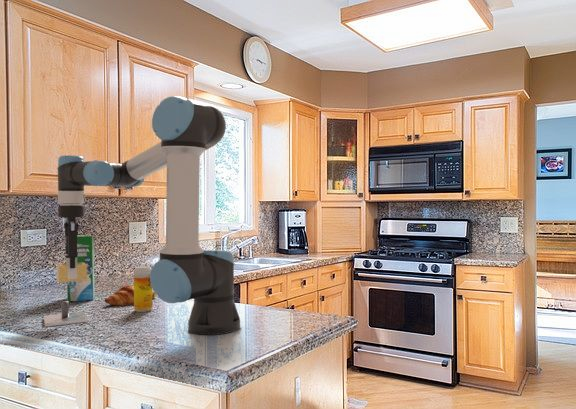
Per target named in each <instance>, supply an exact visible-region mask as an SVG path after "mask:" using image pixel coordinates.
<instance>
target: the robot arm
mask: <svg viewBox="0 0 576 409" xmlns="http://www.w3.org/2000/svg"><path fill="white" fill-rule="evenodd" d="M226 124H227V123H226V120H225V116H224V115H223V113H222V112H221V110H219V109H218V108H217V107H216V106H214V105H212V104H208V103H204V102H201V101H197V100H194V99H191V98H189V97H185V96H183V97H182V96H175V95H174V96H173V95H171V96H168V97H166V98H164V99H162V100H161V101H160V102H159V104H158V105H157V106H156V108H155V109H154V111H153V114H152V118H151V127H152V131H153V132H154V134H155V136H156V137H157V138H158V139H160V142H158V143H157V144H154V145H153V146H151V147H149V148H148V149H146V150H143V151H142V152H140V153H139V154H137V155H135V156H133V157H132V158H129V159H128V160H126V161H124V162H121V163H118V162H107V161H105V160H90V161H85V158H84V157H83V156H82V155H81V156H80V155H72V154H71V155H66V154H65V155H60V156H59V157H58V160H57V162H58V163H57V204H58V206H57V216H58V218H61V219H62V218H63V219H64V218H66V222H64V223H63V229H64V236H65V264H66V263H67V279H77V256H78V253H77V236H79V231H78V230H79V223H78V222H77V221H76V220H77V218H83V217H85V206H84V205H83V204H85V199H84V198H86V197H87V194H85V192H84V191H85V187H87V186H88V187H90V186H91V187H120V188H121V187H125V188H134V187H135V188H136V187H140V186H141V185H142V184H143V182H144V181H145V178H147V177H149V176H151V175H153V174H155V173H157V172H158V171H160V170H161V171H162V170H163V169H165V168H166V192H165V194H166V200H165V201H166V202H165V205H166V206H165V209H166V210H165V212H166V213H165V245H164V246H162V248H161V249H160V250H159V260H158V261H156V262H155V263H154V264H153V266H152V267H151V272H150V282H151V286H152V291H154V292H155V293H156V294H157V295H156V297H158V299H160V300H161V301H163V302H165V303H168V304H177V303H186V302H187V301H190V300H193V305H192V308H191V311H190V315H189V318H188V322H187V328H188V331H189V332H190V333H193V334H195V335H196V334H197V335H209V336H210V335H212V336H213V335H224V334H228V333H232V332H235V331H238V330H239V329H240V328H241V318H240V316H239V312H238V309H237V306H236V303H235V280H234V279H235V276H234V275H235V273H234V272H235V270H234V269H235V268H234V266H235V262H234V254H233V253H232V252H231V251H230V250H221V249H220V250H218V249H217V250H216V249H203V248H202V247H201V246H200V244H199V236H200V235H199V231H200V230H199V227H200V224H199V223H200V218H199V217H200V209H199V208H200V169H201V168H200V164H201V162H200V160H201V159H200V158H201V155H202V154H203V153H204V152H205V151H207V150H209V149H211V148H213V147H214V146H216V145H217V144H218V143H220V141H222V140H223V138H224V136H225V134H226V129H227V128H226V127H227V125H226ZM67 254H68V255H67Z"/></svg>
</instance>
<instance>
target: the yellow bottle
mask: <svg viewBox="0 0 576 409" xmlns="http://www.w3.org/2000/svg"><path fill="white" fill-rule="evenodd" d="M151 269H152V267H151V266H149V265H143V266H142V265H141V266H135V267H134V269H133V286H134V304H133V305H134V307H133V308H134V310H135V312H137V313H138V312H139V313H145V312H146V313H147V312H150V311H151V310H152V309H153V308H154V307H153V299H152V291H153V288H152V286H151V282H150V272H151Z"/></svg>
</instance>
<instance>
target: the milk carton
mask: <svg viewBox="0 0 576 409" xmlns="http://www.w3.org/2000/svg"><path fill="white" fill-rule="evenodd" d="M93 237H94V236H92V235H87V236H86V235H80V234H78V236H77V253H78V256H77V263H85V264H87V281H74V282H66V283H67V284H66V287H67V289H66V291H67V294H66V295H67V301H75V302H85V301H87V300H89V301H94V299H95V293H96V292H95V288H96V287H95V241H94V240H95V239H94V238H93ZM66 255H68V254H66ZM87 302H88V301H87Z"/></svg>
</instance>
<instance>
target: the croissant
mask: <svg viewBox="0 0 576 409" xmlns="http://www.w3.org/2000/svg"><path fill="white" fill-rule="evenodd" d="M156 297H157V294H156V293H155V292H154V290H152V300H153V299H154V298H156ZM104 302H105V304H108V305H110V306H129V305H130V306H131V305H134V285H124V286H121V287H120V288H119V289H118V291H115V292H114V293H113V294H112V295H109V296H108V297H106V298H104Z"/></svg>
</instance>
